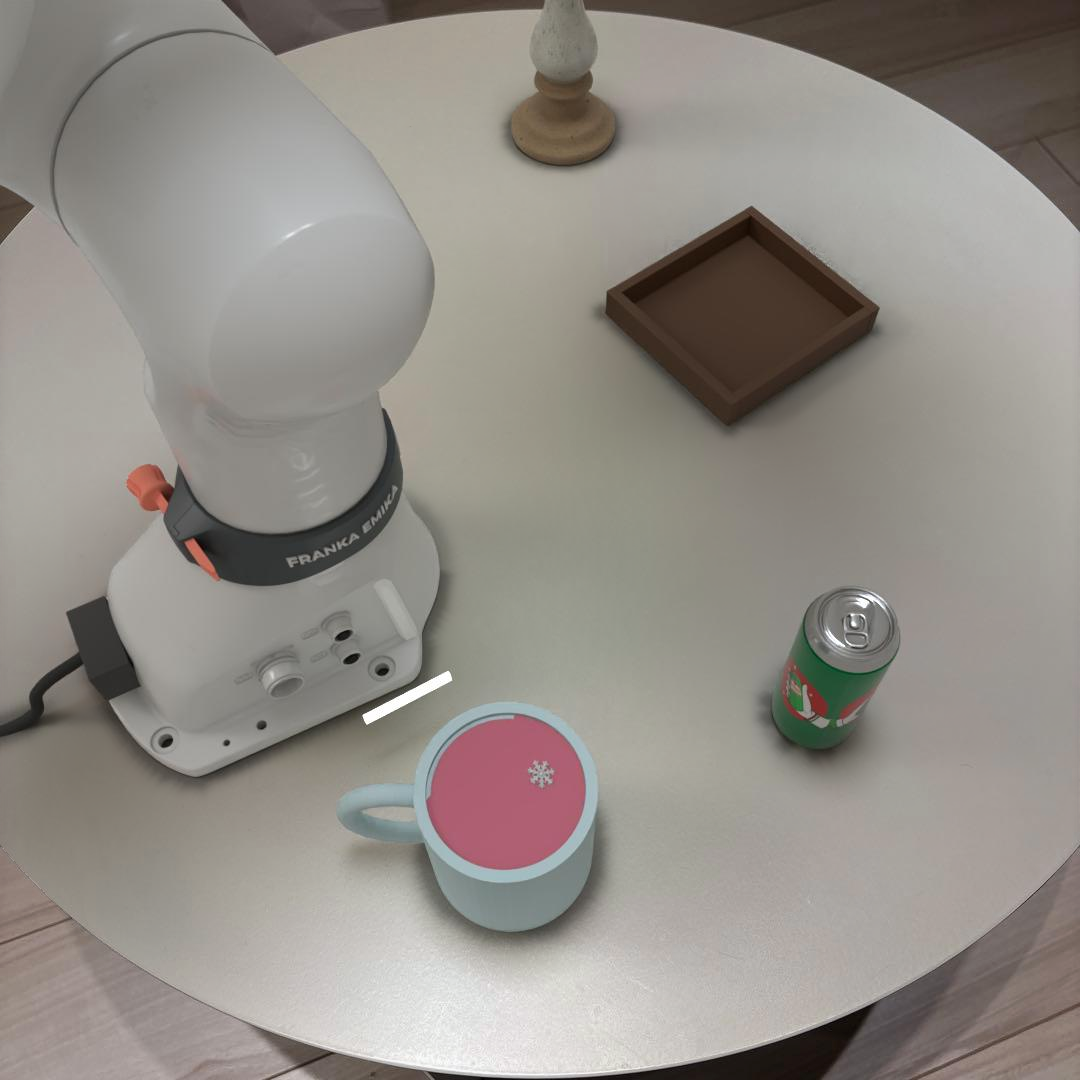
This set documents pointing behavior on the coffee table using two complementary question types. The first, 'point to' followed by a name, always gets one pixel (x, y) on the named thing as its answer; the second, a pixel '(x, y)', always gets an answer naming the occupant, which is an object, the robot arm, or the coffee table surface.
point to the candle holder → (563, 90)
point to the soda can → (835, 666)
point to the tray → (740, 313)
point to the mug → (496, 814)
